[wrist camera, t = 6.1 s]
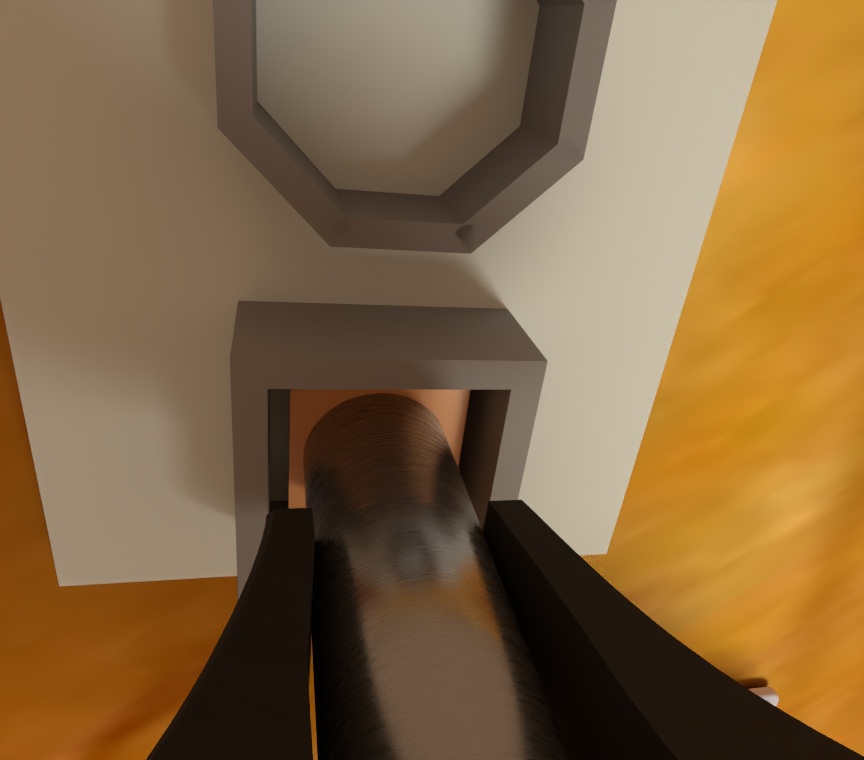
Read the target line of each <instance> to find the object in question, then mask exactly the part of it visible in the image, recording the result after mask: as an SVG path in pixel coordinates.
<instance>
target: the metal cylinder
mask: <svg viewBox="0 0 864 760" xmlns="http://www.w3.org/2000/svg"><path fill="white" fill-rule="evenodd" d="M303 465H304V486H305V506H306V508H312V514H313V522H314V532H315V553H314V579H313V600H312V620H311V630H312V650H313V671H314V691H315V712H316V732H317V753H318V760H571V758H570V755H569V753H568V750H567V747H566V745H565V742H564V740H563V737H562V734H561V732H560V729H559V727H558V724H557V722H556V719H555V716H554V714H553V711H552V709H551V706H550V704H549V701H548V698H547V696H546V693H545V691H544V688H543V686H542V683H541V680H540V678H539V675H538V673H537V670H536V667H535V665H534V662H533V660H532V657H531V655H530V652H529V649H528V647H527V644H526V642H525V639H524V637H523V634H522V631H521V629H520V626H519V624H518V621H517V619H516V616H515V613H514V611H513V608H512V606H511V603H510V600H509V598H508V595H507V593H506V590H505V588H504V585H503V582H502V580H501V577H500V575H499V572H498V570H497V567H496V564H495V562H494V559H493V557H492V554H491V552H490V549H489V546H488V544H487V541H486V539H485V536H484V533H483V531H482V528H481V526H480V523H479V521H478V518H477V515H476V513H475V510H474V508H473V505H472V503H471V500H470V497H469V495H468V492H467V490H466V487H465V485H464V482H463V479H462V477H461V474H460V472H459V469H458V466H457V464H456V461H455V459H454V456H453V454H452V451H451V448H450V446H449V443H448V441H447V438H446V436H445V433H444V430H443V428H442V426H441V424H440V422H439V420H438V419H437V418H436V416H435V415H434V414H433V413H432V412H431V411H430V410H429V409H428V408H426V407H425V406H424V405H422V404H421V403H419V402H417V401H415V400H413V399H410V398H408V397H405V396H401V395H397V394H389V393H374V394H366V395H362V396H358V397H355V398H352V399H349V400H346V401H344V402H342V403H340V404H338V405H337V406H335V407H334V408H332V409H331V410H329V411H328V412H327V413H326V414H325V415H323V416H322V417H321V419H320V420H319V421H318V422H317V423H316V424H315V426H314V427H313V429H312V430H311V432H310V434H309V436H308V438H307V441H306V444H305V448H304V453H303Z"/></svg>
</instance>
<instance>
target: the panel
mask: <svg viewBox="0 0 864 760" xmlns="http://www.w3.org/2000/svg"><path fill="white" fill-rule="evenodd" d="M776 4H777V0H0V300H1V304H2V309H3V314H4V319H5V324H6V329H7V334H8V339H9V344H10V348H11V353H12V358H13V363H14V368H15V373H16V378H17V383H18V387H19V392H20V397H21V402H22V407H23V412H24V417H25V422H26V427H27V431H28V436H29V441H30V446H31V451H32V456H33V461H34V466H35V471H36V475H37V480H38V485H39V490H40V495H41V500H42V505H43V510H44V515H45V519H46V524H47V529H48V534H49V539H50V544H51V549H52V554H53V558H54V563H55V568H56V573H57V578H58V583H59V586H76V585H92V584H109V583H126V582H143V581H160V580H177V579H193V578H210V577H227V576H237V585H238V600H239V597H240V595H241V593H242V590H243V588H244V586H245V584H246V581H247V579H248V577H249V574H250V572H251V569H252V566H253V564H254V561H255V558H256V555H257V553H258V550H259V546H260V543H261V540H262V536H263V532H264V528H265V522H266V515H267V514H268V513H270V512H271V511H272V510H273V509H288V439H289V389H443V390H470V396H469V402H468V409H467V415H466V421H465V428H464V434H463V440H462V446H461V453H460V459H459V465H458V469H459V472H460V474H461V477H462V479H463V482H464V485H465V487H466V490H467V492H468V495H469V497H470V500H471V503H472V505H473V508H474V510H475V513H476V515H477V518H478V521H479V523H480V526H481V528H482V531H483V527H484V521H485V516H486V511H487V506H488V501H500V500H522V501H524V502H525V503H526V504H527V505H528V506H529V507H530V508H531V509H532V510H533V511H534V512H535V513H536V514H537V515H538V516H539V517H540V518H541V519H542V520H543V521H544V522H545V523H546V524H547V525H548V526H549V527H550V528H551V529H552V530H553V531H555V532H556V533H557V534H558V535H559V536H560V537H561V538H562V539H563V540H564V541H565V542H566V543H567V544H568V545H569V546H570V547H571V548H572V549H573V550H574V551H575V552H576V553H577V554H578V555H579V556H581V555H598V554H607V551H608V548H609V544H610V541H611V538H612V535H613V531H614V528H615V525H616V522H617V518H618V515H619V512H620V509H621V506H622V502H623V499H624V496H625V493H626V489H627V486H628V483H629V480H630V476H631V473H632V470H633V467H634V463H635V460H636V457H637V454H638V450H639V447H640V444H641V441H642V438H643V434H644V431H645V428H646V425H647V421H648V418H649V415H650V412H651V408H652V405H653V402H654V399H655V395H656V392H657V389H658V386H659V382H660V379H661V376H662V373H663V370H664V366H665V363H666V360H667V357H668V353H669V350H670V347H671V344H672V340H673V337H674V334H675V331H676V327H677V324H678V321H679V318H680V315H681V311H682V308H683V305H684V302H685V298H686V295H687V292H688V289H689V285H690V282H691V279H692V276H693V272H694V269H695V266H696V263H697V259H698V256H699V253H700V250H701V247H702V243H703V240H704V237H705V234H706V230H707V227H708V224H709V221H710V217H711V214H712V211H713V208H714V204H715V201H716V198H717V195H718V191H719V188H720V185H721V182H722V179H723V175H724V172H725V169H726V166H727V162H728V159H729V156H730V153H731V149H732V146H733V143H734V140H735V136H736V133H737V130H738V127H739V123H740V120H741V117H742V114H743V111H744V107H745V104H746V101H747V98H748V94H749V91H750V88H751V85H752V81H753V78H754V75H755V72H756V68H757V65H758V62H759V59H760V56H761V52H762V49H763V46H764V43H765V39H766V36H767V33H768V30H769V26H770V23H771V20H772V17H773V13H774V10H775V7H776Z"/></svg>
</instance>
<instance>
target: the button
mask: <svg viewBox="0 0 864 760" xmlns="http://www.w3.org/2000/svg"><path fill="white" fill-rule="evenodd" d="M374 393H389V394H397V395H401V396H405V397H408V398H410V399H413V400H415V401H417V402H419V403H421V404H422V405H424V406H425V407H426V408H428V409H429V410H430V411H431V412H432V413H433V414H434V415H435V416H436V418H437V419H438V420H439V422H440V424H441V426H442V428H443V430H444V433H445V436H446V438H447V441H448V443H449V446H450V448H451V451H452V454H453V456H454V459H455V461H456V464H457V466H458V465H459V459H460V453H461V446H462V440H463V434H464V428H465V421H466V415H467V409H468V402H469V396H470V390H443V389H289V439H288V509H292V508H306V506H305V486H304V465H303V453H304V448H305V444H306V441H307V438H308V436H309V434H310V432H311V430H312V429H313V427H314V426H315V424H316V423H317V422H318V421H319V420H320V419H321V417H322V416H323V415H325V414H326V413H327V412H328V411H329V410H331V409H332V408H334V407H335V406H337V405H338V404H340V403H342V402H344V401H346V400H349V399H352V398H355V397H358V396H362V395H366V394H374Z"/></svg>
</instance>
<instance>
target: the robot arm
mask: <svg viewBox="0 0 864 760" xmlns="http://www.w3.org/2000/svg"><path fill="white" fill-rule="evenodd" d="M483 533H484V536H485V539H486V541H487V544H488V546H489V549H490V552H491V554H492V557H493V559H494V562H495V564H496V567H497V570H498V572H499V575H500V577H501V580H502V582H503V585H504V588H505V590H506V593H507V595H508V598H509V600H510V603H511V606H512V608H513V611H514V613H515V616H516V619H517V621H518V624H519V626H520V629H521V631H522V634H523V637H524V639H525V642H526V644H527V647H528V649H529V652H530V655H531V657H532V660H533V662H534V665H535V667H536V670H537V673H538V675H539V678H540V680H541V683H542V686H543V688H544V691H545V693H546V696H547V698H548V701H549V704H550V706H551V709H552V711H553V714H554V716H555V719H556V722H557V724H558V727H559V729H560V732H561V734H562V737H563V740H564V742H565V745H566V747H567V750H568V753H569V755H570V758H571V760H864V756H862V755H860V754H858V753H856V752H854V751H853V750H851V749H849V748H847V747H845V746H843V745H842V744H840V743H838V742H836V741H834V740H832V739H831V738H829V737H827V736H825V735H823V734H821V733H819V732H818V731H816V730H814V729H813V728H811V727H809V726H807V725H806V724H804V723H802V722H801V721H799V720H797V719H795V718H794V717H792V716H790V715H789V714H787V713H785V712H784V711H782V710H780V709H779V708H777V707H776V705H777V704H778V701H779V697H778V695H777V694H776V692H775V691H774V689H772V688H771V687H760V688H752V689H747V688H745V687H744V686H742V685H741V684H739V683H738V682H736V681H735V680H733V679H732V678H730V677H729V676H727V675H726V674H724V673H723V672H721V671H720V670H718V669H717V668H716V667H714V666H713V665H711V664H710V663H709V662H707V661H706V660H705V659H703V658H702V657H700V656H699V655H698V654H696V653H695V652H693V651H692V650H691V649H689V648H688V647H687V646H685V645H684V644H682V643H681V642H680V641H678V640H677V639H676V638H674V637H673V636H672V635H671V634H669V633H668V632H667V631H665V630H664V629H663V628H662V627H660V626H659V625H658V624H657V623H655V622H654V621H653V620H652V619H651V618H649V617H648V616H647V615H646V614H645V613H643V612H642V611H641V610H640V609H639V608H637V607H636V606H635V605H634V604H633V603H631V602H630V601H629V600H628V599H627V598H625V597H624V596H623V595H622V594H621V593H620V592H619V591H617V590H616V589H615V588H614V587H613V586H612V585H611V584H610V583H608V582H607V581H606V580H605V579H604V578H603V577H602V576H601V575H600V574H599V573H597V572H596V571H595V570H594V569H593V568H592V567H591V566H590V565H589V564H588V563H587V562H586V561H585V560H584V559H582V558H581V557H580V556H579V555H578V554H577V553H576V552H575V551H574V550H573V549H572V548H571V547H570V546H569V545H568V544H567V543H566V542H565V541H564V540H563V539H562V538H561V537H560V536H559V535H558V534H557V533H556V532H555V531H553V530H552V529H551V528H550V527H549V526H548V525H547V524H546V523H545V522H544V521H543V520H542V519H541V518H540V517H539V516H538V515H537V514H536V513H535V512H534V511H533V510H532V509H531V508H530V507H529V506H528V505H527V504H526V503H525V502H524V501H522V500H500V501H488V506H487V511H486V516H485V521H484V527H483ZM314 553H315V532H314V522H313V514H312V508H292V509H273V510H272V511H271V512H270V513H268V514H267V515H266V522H265V528H264V532H263V536H262V540H261V543H260V546H259V550H258V553H257V555H256V558H255V561H254V564H253V566H252V569H251V572H250V574H249V577H248V579H247V581H246V584H245V586H244V588H243V590H242V593H241V595H240V597H239V600H238V602H237V604H236V607H235V609H234V611H233V613H232V615H231V617H230V619H229V621H228V623H227V625H226V627H225V629H224V631H223V633H222V635H221V637H220V639H219V641H218V643H217V645H216V647H215V648H214V650H213V652H212V654H211V656H210V658H209V660H208V662H207V664H206V665H205V667H204V669H203V671H202V672H201V674H200V676H199V678H198V679H197V681H196V683H195V685H194V686H193V688H192V690H191V691H190V693H189V695H188V696H187V698H186V699H185V701H184V703H183V704H182V706H181V708H180V709H179V711H178V712H177V714H176V716H175V717H174V719H173V720H172V722H171V723H170V725H169V726H168V728H167V729H166V731H165V732H164V734H163V735H162V737H161V738H160V740H159V741H158V743H157V744H156V746H155V747H154V749H153V750H152V752H151V753H150V755H149V756H148V758H147V759H146V760H313V753H312V737H311V720H310V703H309V675H310V658H311V631H312V630H311V620H312V600H313V579H314Z"/></svg>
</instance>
